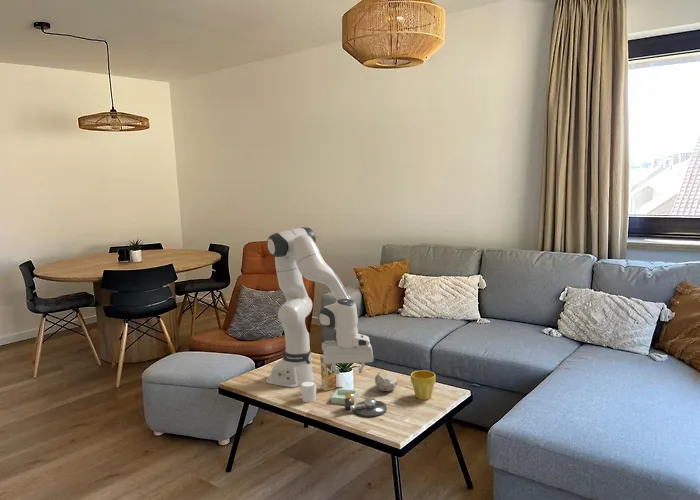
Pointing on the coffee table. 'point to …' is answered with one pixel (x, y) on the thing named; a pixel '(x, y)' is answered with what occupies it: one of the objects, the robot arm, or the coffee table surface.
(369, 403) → the crank
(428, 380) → the plant pot
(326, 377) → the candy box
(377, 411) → the base
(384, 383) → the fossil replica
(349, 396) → the pin
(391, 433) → the coffee table surface
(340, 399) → the tray
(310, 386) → the white cylinder
